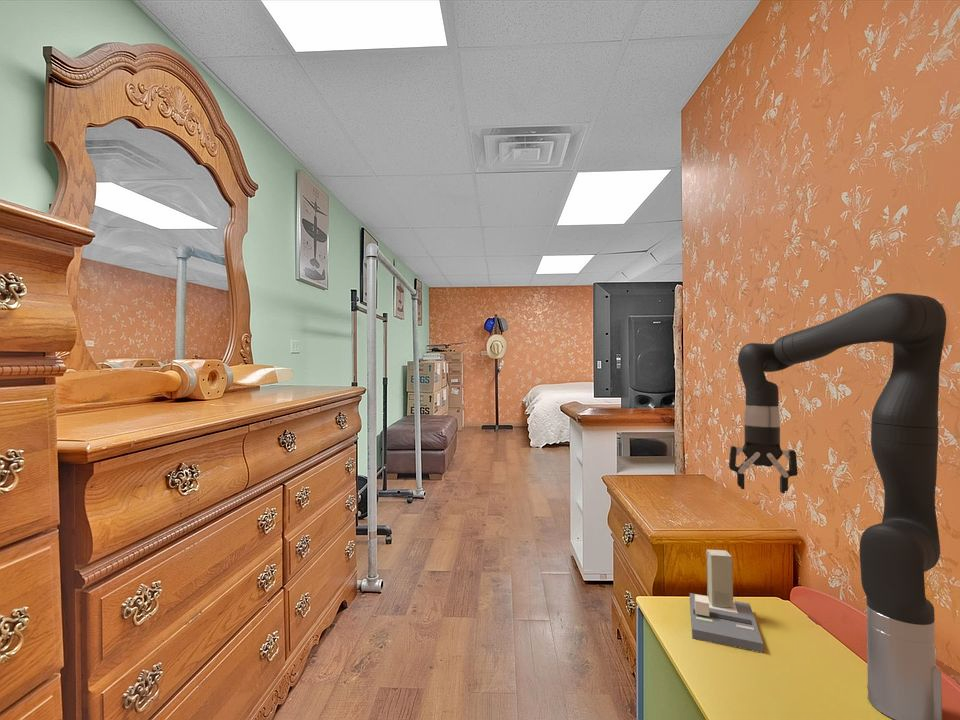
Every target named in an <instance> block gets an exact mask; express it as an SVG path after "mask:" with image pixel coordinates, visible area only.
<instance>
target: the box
mask: <svg viewBox="0 0 960 720" xmlns="http://www.w3.org/2000/svg"><path fill="white" fill-rule="evenodd" d="M705 552H706V557H705V559H706V592H707V593H706V594H707V595H706V596H708V599H709V602H710V603H711V605H712V606H717V607H732V608H733V601H734V585H733V584H734V583H733V579H734V578H733V556H732V555H731V554H730V553H729V552H728V550H723V549H709V548H707V549H706V551H705Z"/></svg>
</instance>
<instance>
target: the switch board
mask: <svg viewBox="0 0 960 720" xmlns="http://www.w3.org/2000/svg"><path fill="white" fill-rule="evenodd" d="M695 594H696V595H700V594H697V593H692V592H689V609H690V610H689V611H690V621H691V626H690V627H691V638H692V639H694V640H699V641H705V642H709V643H712V644H713V643H715V644H718V645H723V646H727V645H729V646H728V647H732V646H736V647H735V648H737V647H741V648H740V649H742V648H745V649H744V650H746V649H750V650H749V651H751V650H754V651H753V652H756V651H758V652H757V653H761V652H762V653H761V654H764V642H763V639H762V636H761V633H760V630H759V627H758V623H757V621H756V618H755V615H754V612H753V610H752V607H751V604H750V603H748V602H743V601H736V600H733V608H732V607H717V606H712V605H711V603H710V602H709V616H704V615H699V614H695ZM701 595H702V596H705V594H704V595H703V594H701Z"/></svg>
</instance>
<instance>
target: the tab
mask: <svg viewBox="0 0 960 720" xmlns="http://www.w3.org/2000/svg"><path fill="white" fill-rule="evenodd" d="M694 594H695V614H699V615H704V616H709V599H708V596H707V595H704V596H702V595H703V594H699V595H696V594H697V593H694Z"/></svg>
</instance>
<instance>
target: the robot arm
mask: <svg viewBox="0 0 960 720" xmlns="http://www.w3.org/2000/svg"><path fill="white" fill-rule="evenodd" d="M946 328H947V314H946V311H945V308H944V307H943V304H941V303H940V301H938V300H937V299H936V298H934V297H931V296H928V295H923V294H912V293H904V292H903V293H901V292H897V293H896V292H892V293H887V294H883V295H880V296H878V297H876V298H875V297H874V298H873V299H871V300H870V301H867V302H865V303H863V304H861V305H859V306H857V307H856V308H854V309H852V310H850V311H847V312H845V313H844V314H843V313H842V314H841V315H839V316H836V317H835V318H832V319H829V320H827V321H826V322H825V321H824V322H822V323H819V324H817V325H814V326H811V327H807V328H805V329H801V330H798V331H795V332H794V331H793V332H792V333H789V334H785V335H782V336H780V337H779V338H778V339H777V340H775V342H774V343H757V342H750V343H747V344H745V345H743V346H742V347H741V349H740V350H739V353H738V356H737V362H738V363H737V364H738V368H739V371H740V372H739V373H740V374H741V379H742V383H743V385H744V388H745V409H744V418H743V423H744V429H743V430H744V443H743V446H741V447H740V446H735V445H730V447H729V460H728V461H729V463H728V468H729V469H730V471H734V472H736V476H737V477H736V482H737V486H738V487H740V489H741V490H745V472H746V471H747V470H748V469H749V468H750V467H751V466H752V465H754V466H758V467H760V466H761V467H762V466H764V467H769V468H770V467H774V468H775V469H776V470H777V471H778V473H779V474H780V476H779V492H780V493H781V494H786V492H788V490H789V478H790V477H797V476H798V474H799V473H798V462H797V460H798V459H797V452H796V451H795V450H793V449H791V448H789V449H782V448H781V416H780V415H781V414H780V409H779V408H780V407H779V403H780V402H779V400H780V399H779V395H780V394H779V393H780V392H779V387H778V384H777V383H775V382H772V381H769V380H768V379H767V376H766V374H765V373H775V372H779V371H783V370H785V369H788V368H790V367H792V366H794V365H796V364H801V363H805V362H809V361H814V360H818V359H821V358H823V357H827V356H829V355H830V354H832V353H834V352H835V351H837V350H839V349H841V348H844V347H848V346H852V345H858V344H867V343H879V342H880V343H881V342H883V343H887V344H892V348H893V349H892V350H893V353H892V358H893V359H892V367H891V373H890V376H889V378H888V380H887V382H886V384H885V386H884V387H883V390H882V391H881V392H880V394H879V396H878V398H877V399H876V402H875V404H874V406H873V409H872V413H871V420H870V422H871V423H870V424H871V425H870V426H871V427H870V428H871V430H870V445H871V451H872V455H873V459H874V462H875V465H876V468H877V470H878V472H879V476H880V478H881V480H882V485H883V490H884V491H883V493H884V504H883V515H882V521H881V522H880V523H877V524H873V525H870V526H869V527H867V528H866V529H864V530H863V532H862V534H861V537H860V539H859V540H860V541H859V564H860V568H859V569H860V580H861V587H862V590H863V592H864V594H865V597H866V599H865V600H866V646H867V647H866V652H867V653H866V655H867V656H866V658H867V659H866V663H867V664H866V665H867V668H866V670H867V685H866V686H867V687H866V688H867V699H868V702H869V703H870V704H871V705H872V707H874V708H875V709H876V710H878V711H880V713H882V714H884V715H885V716H887V717H889V718H891V719H893V720H943V699H942V698H943V697H942V694H943V692H942V691H943V689H942V688H943V687H942V685H943V684H942V680H943V679H942V671H941V668H940V667H938V665H937V664H936V639H935V638H936V633H935V631H936V629H935V628H936V627H935V626H936V625H935V624H936V623H935V622H936V621H935V620H936V619H935V616H936V615H935V607H934V605H933V604H932V602H931V601H930V600H929V599H928V598H927V597H926V586H925V585H926V583H925V581H926V580H925V573H926V572H928V571H931V569H933V568H934V567H935V566H936V565H937V563H938V561H939V560H940V557H941V542H940V535H939V529H938V528H939V526H938V519H937V511H936V485H937V475H938V474H937V473H938V472H937V471H938V454H939V453H938V452H939V451H938V450H939V400H940V397H939V396H940V369H941V360H942V356H943V355H942V354H943V350H944V349H943V348H944V343H945V338H946V336H945V335H946ZM740 453H743V454H744V456H745V459H744V460H743V461H742V463H741V464H740V465H739V466H737V464H736V463H737V456H740ZM783 455H784V457H785V459H787V460H788V470H786V469H785V467H783V465H782V464H781V463H780V462H779V461H778V460H779V459H780V458H781V457H782V456H783Z"/></svg>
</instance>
